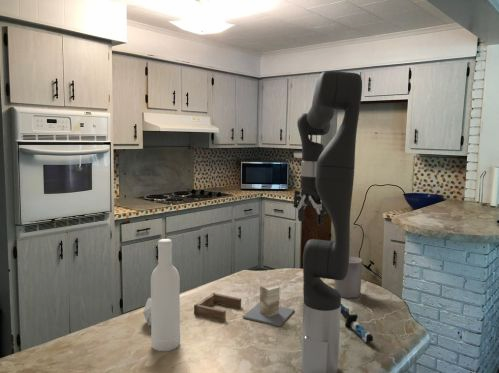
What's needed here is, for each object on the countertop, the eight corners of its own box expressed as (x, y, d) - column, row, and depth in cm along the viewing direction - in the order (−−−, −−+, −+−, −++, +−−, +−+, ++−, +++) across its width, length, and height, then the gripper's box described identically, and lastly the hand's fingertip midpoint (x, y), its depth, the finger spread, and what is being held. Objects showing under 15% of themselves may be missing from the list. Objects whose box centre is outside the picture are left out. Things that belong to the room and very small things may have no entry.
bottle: (157, 354, 111) (156, 245, 108) (147, 342, 118) (145, 239, 114) (184, 346, 116) (184, 241, 112) (173, 335, 122) (172, 235, 119)
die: (137, 323, 131) (137, 307, 124) (153, 302, 137) (153, 286, 131) (159, 335, 129) (160, 320, 123) (174, 314, 135) (176, 298, 129)
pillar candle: (337, 287, 164) (339, 250, 162) (362, 292, 160) (364, 254, 158) (331, 295, 155) (332, 256, 154) (357, 300, 151) (359, 260, 149)
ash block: (278, 313, 137) (279, 287, 136) (268, 316, 135) (268, 290, 134) (269, 308, 141) (270, 283, 140) (259, 312, 138) (260, 285, 137)
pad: (280, 326, 129) (280, 324, 129) (242, 318, 135) (242, 316, 135) (294, 311, 141) (294, 309, 141) (259, 304, 146) (259, 302, 146)
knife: (373, 350, 118) (375, 335, 117) (363, 350, 118) (364, 336, 117) (332, 297, 148) (333, 286, 147) (324, 298, 147) (325, 286, 146)
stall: (223, 320, 132) (223, 311, 132) (194, 314, 137) (194, 305, 137) (241, 307, 144) (241, 298, 143) (213, 301, 148) (213, 293, 148)
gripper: (336, 176, 134) (334, 225, 136) (304, 172, 145) (303, 218, 147) (320, 177, 129) (318, 228, 131) (288, 173, 140) (287, 220, 142)
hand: (310, 223), depth 139 cm, fingers open, 8 cm apart
